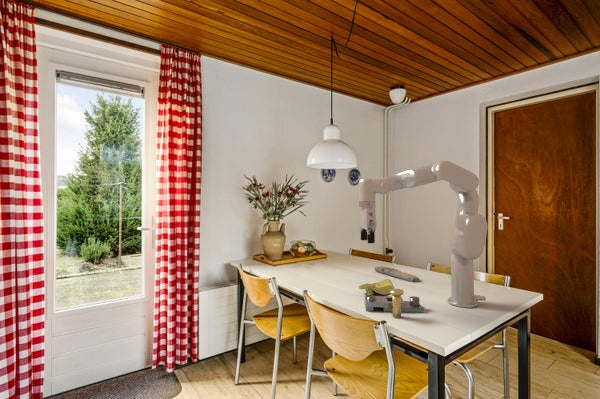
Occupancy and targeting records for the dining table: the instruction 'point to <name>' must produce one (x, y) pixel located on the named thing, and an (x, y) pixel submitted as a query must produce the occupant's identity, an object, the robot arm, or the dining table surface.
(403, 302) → the grey mechanical device
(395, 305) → the brass pin
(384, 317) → the dining table surface
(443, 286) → the dining table surface
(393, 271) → the elongated rock
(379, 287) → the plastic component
